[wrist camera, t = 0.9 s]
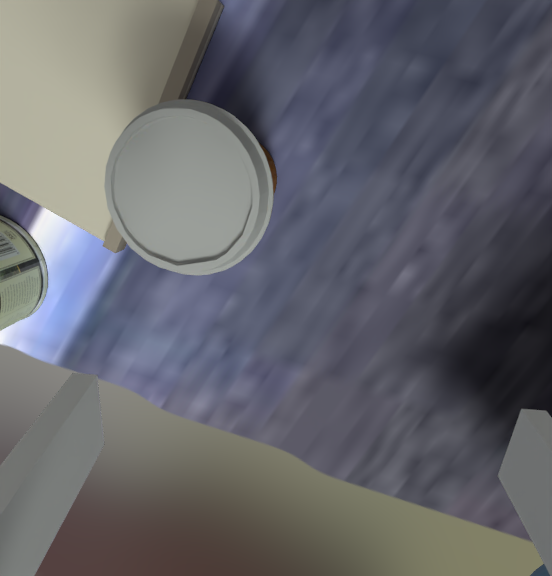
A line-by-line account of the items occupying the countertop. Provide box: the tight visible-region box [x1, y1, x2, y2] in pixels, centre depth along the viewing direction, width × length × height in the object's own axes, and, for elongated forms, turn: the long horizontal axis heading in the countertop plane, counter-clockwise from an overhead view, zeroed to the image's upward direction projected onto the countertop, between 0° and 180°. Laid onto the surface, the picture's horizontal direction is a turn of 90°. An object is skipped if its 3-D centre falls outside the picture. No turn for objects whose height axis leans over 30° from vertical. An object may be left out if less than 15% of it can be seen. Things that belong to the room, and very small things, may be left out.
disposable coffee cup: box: [104, 99, 277, 275], centre depth 30 cm, size 10×10×12 cm
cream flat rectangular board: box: [0, 0, 224, 253], centre depth 35 cm, size 16×20×2 cm
